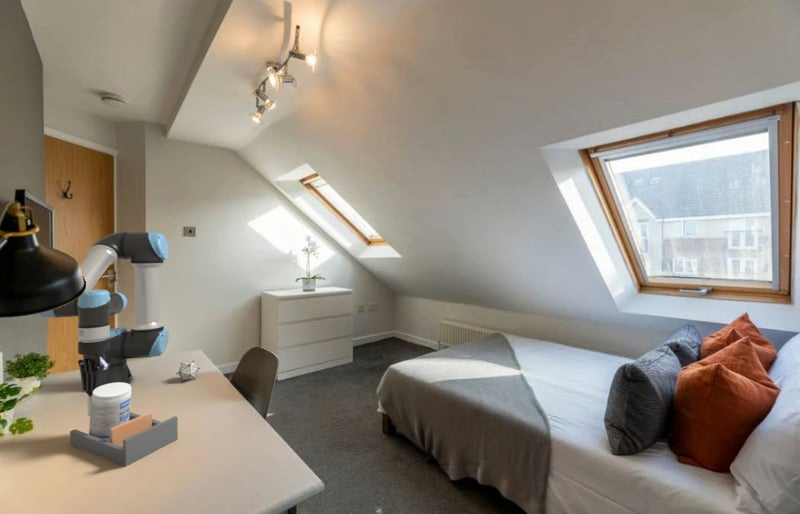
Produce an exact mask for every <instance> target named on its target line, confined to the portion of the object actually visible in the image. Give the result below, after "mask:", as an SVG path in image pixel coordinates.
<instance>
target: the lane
mask: <svg viewBox="0 0 800 514" xmlns="http://www.w3.org/2000/svg"><path fill="white" fill-rule="evenodd" d="M140 416H142V415H140V414H137V413H133V412H131V411H130V417H129V421H130V420H132V419H135V418H137V417H140ZM178 418H179V417H178V416H175V415H174V416H172V417H169V418H168V419H165V420H163V421H160V420H156V419H153V418H152V427H150V428H148V429H146V430H143V431H141V432H139V433H137V434H135V435H133V436H130V437H128V438H126V439H124V440H123V447H122V446H120V445H117V444H114V443H111V442H110V441H106V440H103V439H100V438H98V437H95V436H92V435H89V433H86V432H84V431H81V430H78V429H76V428H75V429H73V430H69V444H70V445H71V446H73V447H75V448H78V449H80V450H83V451H85V452H88V453H91V454H93V455H96V456H97V457H98V456H99V457H101V458H104V459H106V460H109V461H111V462H114V463H116V464H119V465H121V466H124V467H128V466H130V465H132V464H133V463H136V462H137V461H139V460H141V459H144V457H146V456H148V455H150V454H152V453H154V452H156V451H158V450H160V449H162V448H164V447H167V446H168V445H170V444H172V443H173V442H176V441H177V440H178V436H179V434H178V424H179V423H178V420H179V419H178Z"/></svg>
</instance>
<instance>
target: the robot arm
mask: <svg viewBox="0 0 800 514" xmlns="http://www.w3.org/2000/svg"><path fill="white" fill-rule="evenodd" d="M169 254H170V251H169V244H168V241H167V239H166V237H165V235H164V234H162V233H159V232H152V231H150V232H149V231H148V232H144V231H143V232H140V231H139V232H135V231H132V232H131V231H129V232H128V231H119V232H118V231H117V232H114V233H111V234H108V235H106V236H104V237H102V238H101V239H99V240H97V241H96V242H95V243H93V244H92V245H91V246H90V247H89V249H87V256H86V257H85V258H84V259H83V261H82V262H81V263H80V264H79V265H80V266H81V269H82V272H83V276H84V279H85V281H86V289H85V291H84V292H83V294H82V295H81V296H80V297H78V298H77V299H76V300H74V301H73V302H71V303H69V304H67V305H65V306H62V307H60V308H57V309H54V310H51V311H47V312H43V313H39V314H38V313H37V315H38V316H39V317H41V318H54V319H57V318H71V317H73V318H75V317H77V319H78V320H77V323H78V324H77V328H78V329H77V332H76V335H77V340H78V341H79V342H77V354H79V355H82V359H78V360H77V363H78V367H79V370H80V371H79V372H80V379H81V386H82V391H83V392H85V393H86V395H87V416H88V417H90V413H91V398H92V393H93V391H94V390H95V389H96V388H97V387H99V386H102V385H105V384H109V383H117V382H122V383H127V384H129V385H130V383H132V381H133V374H132V372H131V369H130V368H129V366H128V360H130V359H143V358H144V359H145V358H147V359H152V358H155V357H157V358H158V357H161V356H162V355H163V354H164V353H165V352H166V349H167V347H168V343H169V338H170V337H169V336H170V331H169V329H167V328H165V327H164V325H165V324H164V323H162V322H161V321H160V320H161V319H160V267H161V266H163V265H164V262H165V261H164V260H168V258H169ZM118 260H119V261H120V260H130V265H131V266H132V267H133V268H134V298H135V299H134V303H135V304H134V307H135V308H134V309H135V310H134V313H135V315H134V320H135V321H134V322H135V323H134V324H133V325H132V326H131V327H130V330H128V328H127V327H114V328H111V327H110V324H111V321H110V317H111V316H114V315H117V314H119V313H121V312H122V311H124V310H125V309H126V307H127V306H128V298H127V297H126V296H125V294H123V293H121V292H118V291H114V292H111V291H108V290H107V289H93V288H94V287H95V285H96V284H97V283H98V281H99V279H100V278H101V277H103V274H104V273H105V272H106V271H107V269H108V268H109V266H111V265H114V264H115V263H116V262H117V261H118Z"/></svg>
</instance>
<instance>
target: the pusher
mask: <svg viewBox="0 0 800 514" xmlns="http://www.w3.org/2000/svg"><path fill="white" fill-rule="evenodd" d="M152 419H153V413H152V412H146V413H145V414H142V415H141V416H140V417H137V418H135V419H132V420H130V421H128V422H125V423H123V424H120V425H118V426H116V427H113V428H111V429H110V441H109V442H111V443H114V444H117V445H120V446H122V447H123V440H124V439H126V438H128V437H130V436H133V435H135V434H137V433H139V432H141V431H143V430H146V429H148V428H150V427H152Z"/></svg>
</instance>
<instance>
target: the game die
mask: <svg viewBox="0 0 800 514" xmlns="http://www.w3.org/2000/svg"><path fill="white" fill-rule="evenodd" d="M199 370H201V368H200V367H198V366H197V364H195V360H192V361H191V362H184V363H183V362H180V367H179V370H178V372H176V373H175V374H176V375H178V376H179V377H180V379H182V380H181V382H182V383H183V382H184V381H187V380H191V379H194V380H197V373H198V371H199Z"/></svg>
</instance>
